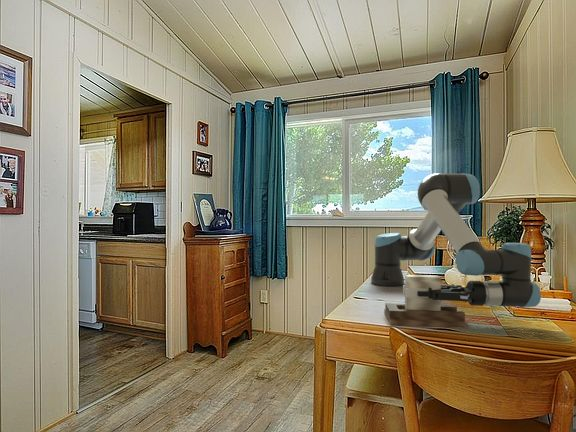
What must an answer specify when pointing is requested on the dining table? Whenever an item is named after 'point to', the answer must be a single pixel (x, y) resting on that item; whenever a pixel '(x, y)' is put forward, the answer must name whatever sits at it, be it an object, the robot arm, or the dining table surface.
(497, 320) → the dining table surface
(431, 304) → the pale grey rectangular block
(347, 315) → the dining table surface
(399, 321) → the groove board
